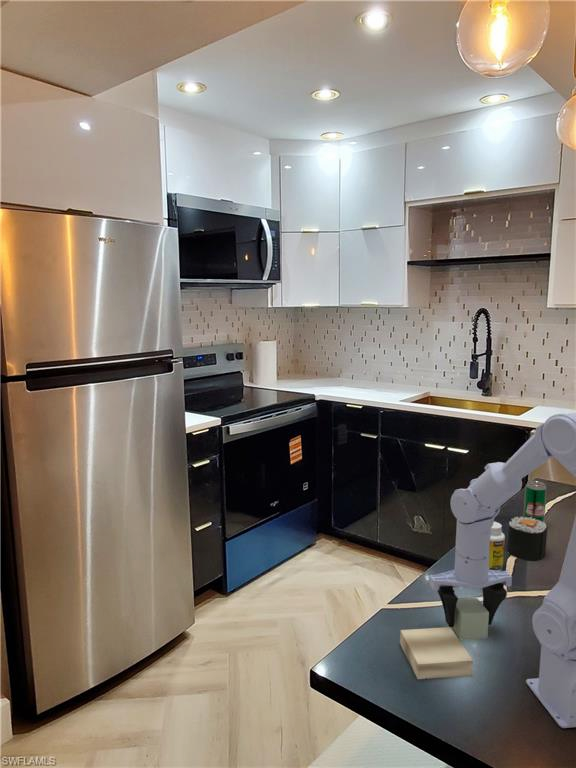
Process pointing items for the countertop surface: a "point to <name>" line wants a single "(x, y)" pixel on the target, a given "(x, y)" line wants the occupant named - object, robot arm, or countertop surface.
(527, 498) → the soda can
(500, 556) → the supplement bottle
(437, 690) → the countertop surface
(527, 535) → the sushi
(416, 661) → the maple block
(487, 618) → the green cube
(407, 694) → the countertop surface
